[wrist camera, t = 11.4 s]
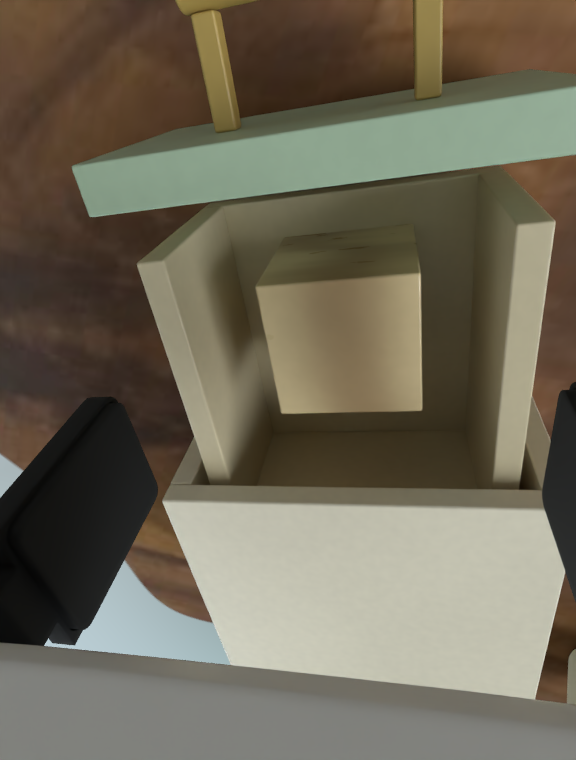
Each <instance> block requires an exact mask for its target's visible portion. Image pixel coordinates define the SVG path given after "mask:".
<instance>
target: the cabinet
mask: <svg viewBox="0 0 576 760" xmlns="http://www.w3.org/2000/svg"><path fill="white" fill-rule="evenodd" d="M550 443H551V440H550V438H549V435H548V433H547V430H546V428H545V426H544V423H543V421H542V418H541V416H540V414H539V411H538V409H537V407H536V404H535V402H534V399H533V397H532V398H531V406H530V413H529V420H528V427H527V435H526V442H525V449H524V457H523V464H522V471H521V478H520V486H519V490H503V489H435V488H367V487H298V486H230V485H210V482H209V479H208V476H207V473H206V470H205V467H204V464H203V461H202V458H201V455H200V452H199V449H198V446H197V443H196V440H195V437H194V438H193V440H192V442H191V444H190V446H189V448H188V450H187V452H186V454H185V456H184V458H183V460H182V462H181V464H180V466H179V468H178V470H177V472H176V474H175V476H174V478H173V480H172V482H171V485H170V486H169V488H168V490H167V492H166V494H165V496H164V498H163V505H164V507H165V509H166V512H167V514H168V516H169V519H170V521H171V524H172V526H173V528H174V531H175V533H176V535H177V538H178V540H179V543H180V545H181V547H182V550H183V552H184V555H185V557H186V559H187V562H188V564H189V566H190V569H191V571H192V574H193V576H194V578H195V581H196V583H197V585H198V588H199V590H200V593H201V595H202V597H203V600H204V602H205V604H206V607H207V609H208V612H209V614H210V616H211V619H212V621H213V624H214V626H215V628H216V631H217V633H218V635H219V637H220V640H221V643H222V645H223V647H224V650H225V652H226V654H227V657H228V659H229V662H230V664H231V665H234V666H243V667H253V668H262V669H272V670H281V671H290V672H300V673H309V674H318V675H327V676H336V677H346V678H355V679H364V680H373V681H382V682H391V683H400V684H409V685H418V686H427V687H436V688H445V689H454V690H463V691H471V692H479V693H487V694H495V695H503V696H511V697H518V698H526V699H534V700H535V696H536V692H537V688H538V684H539V679H540V675H541V671H542V667H543V663H544V658H545V654H546V650H547V646H548V642H549V637H550V633H551V629H552V625H553V621H554V617H555V612H556V608H557V604H558V600H559V596H560V591H561V587H562V583H563V579H564V575H565V569H564V566H563V563H562V560H561V557H560V554H559V551H558V548H557V545H556V542H555V539H554V536H553V533H552V530H551V527H550V524H549V521H548V518H547V515H546V512H545V509H544V506H543V500H542V488H543V482H544V476H545V471H546V465H547V459H548V454H549V448H550Z"/></svg>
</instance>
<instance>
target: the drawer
mask: <svg viewBox="0 0 576 760" xmlns="http://www.w3.org/2000/svg"><path fill="white" fill-rule="evenodd" d="M175 1H176V3H177V5H178V7H179V9H180V10H181V12H182V13H183V14H184V15H186V16H191V21H192V26H193V30H194V35H195V40H196V44H197V49H198V54H199V58H200V63H201V68H202V73H203V77H204V82H205V87H206V91H207V96H208V101H209V105H210V110H211V115H212V119H213V123H209V124H203V125H197V126H191V127H186V128H180V129H175V130H172V131H169V132H166V133H164V134H161V135H158V136H155V137H152V138H149V139H147V140H144V141H141V142H138V143H135V144H132V145H129V146H127V147H124V148H121V149H118V150H115V151H112V152H110V153H107V154H104V155H101V156H98V157H95V158H92V159H90V160H87V161H84V162H81V163H78V164H75V165H73V166H72V171H73V173H74V176H75V179H76V181H77V184H78V187H79V189H80V192H81V195H82V198H83V200H84V203H85V206H86V208H87V211H88V214H89V216H90V217H97V216H105V215H113V214H121V213H128V212H136V211H144V210H152V209H159V208H167V207H175V206H183V205H190V204H198V203H206V202H214V201H221V200H229V199H237V198H245V197H252V196H260V195H268V194H276V193H283V192H291V191H299V190H307V189H314V188H322V187H330V186H338V185H345V184H353V183H361V182H368V181H376V180H384V179H392V178H399V177H407V176H415V175H423V174H430V173H438V172H446V171H454V170H461V169H469V168H477V167H485V166H492V165H500V164H508V163H516V162H523V161H531V160H539V159H547V158H554V157H562V156H570V155H576V74H569V73H559V72H550V71H541V70H532V69H529V70H523V71H517V72H511V73H505V74H499V75H493V76H487V77H481V78H475V79H469V80H464V81H458V82H452V83H446V84H442V42H443V0H413V43H414V89H410V90H404V91H398V92H393V93H387V94H381V95H375V96H369V97H363V98H357V99H351V100H345V101H339V102H333V103H328V104H322V105H316V106H310V107H304V108H298V109H292V110H286V111H280V112H274V113H268V114H262V115H257V116H251V117H245V118H240V115H239V109H238V104H237V99H236V93H235V88H234V83H233V77H232V72H231V66H230V61H229V56H228V50H227V45H226V40H225V34H224V29H223V23H222V18H221V14H220V12H219V11H215V10H219V9H223V8H227V7H232V6H236V5H241V4H245V3H250V2H254V1H258V0H175ZM405 224H413V225H414V228H415V235H416V242H417V249H418V256H419V263H420V270H421V314H422V410H421V411H399V412H350V413H301V414H282V413H281V411H280V406H279V401H278V396H277V391H276V386H275V381H274V376H273V372H272V367H271V362H270V357H269V352H268V347H267V342H266V337H265V332H264V328H263V323H262V318H261V313H260V308H259V303H258V298H257V293H256V289H255V288H256V285H257V283H258V282H259V280H260V278H261V276H262V275H263V273H264V271H265V270H266V268H267V266H268V264H269V263H270V261H271V259H272V257H273V256H274V254H275V252H276V250H277V249H278V247H279V245H280V243H281V242H282V240H283V238H285V237H293V236H302V235H312V234H321V233H330V232H340V231H349V230H359V229H368V228H377V227H387V226H396V225H405ZM555 224H556V222H555V220H554V219H553V218H552V217H551V216H550V215H549V214H548V213H547V212H546V211H545V210H544V209H543V208H542V207H541V206H540V205H539V204H538V203H537V202H536V201H535V200H534V199H533V198H532V197H531V196H530V195H529V194H528V193H527V192H526V191H525V190H524V189H523V188H522V187H521V186H520V185H519V184H518V183H517V182H516V181H515V180H514V179H513V178H512V177H511V176H510V175H509V174H508V173H507V172H506V171H505V170H504V169H503V168H502V167H501V166H493V167H486V168H478V169H470V170H462V171H455V172H447V173H439V174H431V175H424V176H416V177H408V178H400V179H392V180H385V181H377V182H369V183H361V184H354V185H346V186H338V187H330V188H322V189H315V190H307V191H299V192H291V193H284V194H276V195H268V196H260V197H252V198H245V199H237V200H229V201H221V202H214V203H209V204H208V205H207V206H206V207H205V208H204V209H202V210H201V211H199V212H198V213H197V214H196V215H195V216H193V217H192V218H191V219H190V220H189V221H187V222H186V223H185V224H184V225H183V226H181V227H180V228H179V229H178V230H176V231H175V232H174V233H173V234H172V235H170V236H169V237H168V238H167V239H166V240H164V241H163V242H162V243H161V244H160V245H158V246H157V247H156V248H155V249H154V250H152V251H151V252H150V253H149V254H147V255H146V256H145V257H144V258H143V259H141V260H140V261H139V262H138V263H137V267H138V270H139V273H140V276H141V279H142V282H143V285H144V288H145V291H146V294H147V297H148V300H149V303H150V306H151V309H152V312H153V315H154V318H155V321H156V324H157V327H158V330H159V333H160V336H161V339H162V342H163V344H164V347H165V350H166V353H167V356H168V359H169V362H170V365H171V368H172V371H173V374H174V377H175V380H176V383H177V386H178V389H179V392H180V395H181V398H182V401H183V404H184V407H185V410H186V413H187V416H188V419H189V422H190V425H191V428H192V431H193V434H194V437H195V440H196V443H197V446H198V449H199V452H200V455H201V458H202V461H203V464H204V467H205V470H206V473H207V476H208V479H209V482H210V485H230V486H298V487H367V488H435V489H503V490H519V486H520V478H521V471H522V464H523V457H524V449H525V442H526V435H527V427H528V420H529V413H530V406H531V398H532V391H533V384H534V376H535V369H536V362H537V355H538V347H539V340H540V333H541V325H542V318H543V311H544V304H545V296H546V289H547V282H548V274H549V267H550V260H551V253H552V245H553V238H554V231H555Z"/></svg>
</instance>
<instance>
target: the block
mask: <svg viewBox="0 0 576 760" xmlns="http://www.w3.org/2000/svg"><path fill="white" fill-rule="evenodd" d="M255 289H256V293H257V298H258V303H259V308H260V313H261V318H262V323H263V328H264V332H265V337H266V342H267V347H268V352H269V357H270V362H271V367H272V372H273V376H274V381H275V386H276V391H277V396H278V401H279V406H280V411H281V413H282V414H301V413H350V412H399V411H421V410H422V314H421V270H420V263H419V256H418V249H417V242H416V235H415V228H414V225H413V224H405V225H396V226H387V227H377V228H368V229H359V230H349V231H340V232H330V233H321V234H312V235H302V236H293V237H285V238H283V240H282V242H281V243H280V245H279V247H278V249H277V250H276V252H275V254H274V256H273V257H272V259H271V261H270V263H269V264H268V266H267V268H266V270H265V271H264V273H263V275H262V276H261V278H260V280H259V282H258V283H257V285H256V288H255Z"/></svg>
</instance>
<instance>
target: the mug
mask: <svg viewBox="0 0 576 760" xmlns="http://www.w3.org/2000/svg"><path fill="white" fill-rule="evenodd" d="M567 704H573V705H576V649H575V650H573V651H572V653H571V654H570V656H569V659H568V686H567Z"/></svg>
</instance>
